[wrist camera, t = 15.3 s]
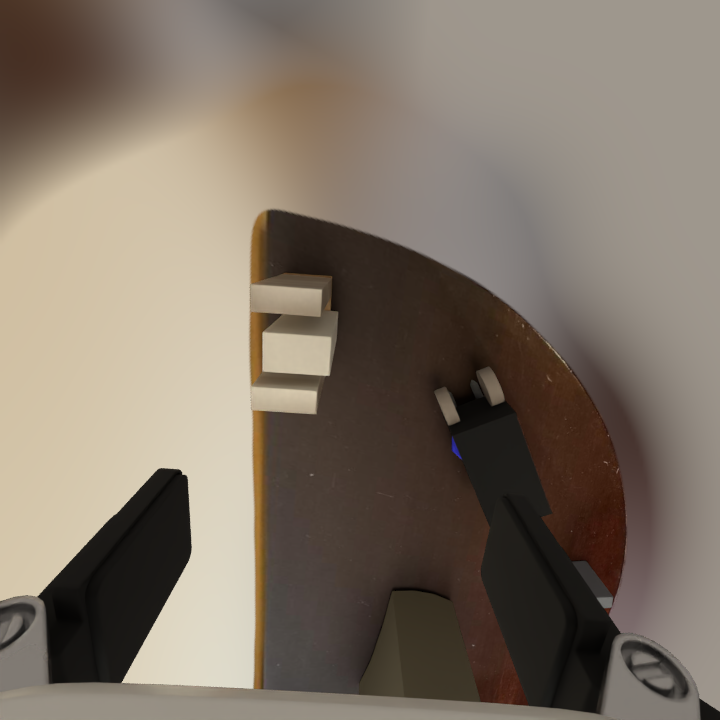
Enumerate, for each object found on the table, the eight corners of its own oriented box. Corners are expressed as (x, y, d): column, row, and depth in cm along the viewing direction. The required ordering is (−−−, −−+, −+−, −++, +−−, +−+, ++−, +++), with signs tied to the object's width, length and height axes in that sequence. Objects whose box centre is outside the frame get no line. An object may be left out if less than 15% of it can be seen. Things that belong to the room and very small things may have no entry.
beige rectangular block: (290, 307, 35) (262, 331, 24) (338, 311, 35) (331, 336, 24) (289, 336, 36) (262, 371, 25) (336, 339, 36) (329, 376, 25)
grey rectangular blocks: (548, 562, 45) (572, 599, 40) (586, 560, 45) (613, 597, 40) (542, 611, 47) (563, 652, 43) (578, 610, 47) (603, 650, 43)
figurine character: (420, 381, 40) (472, 497, 42) (431, 402, 32) (493, 541, 34) (478, 356, 39) (528, 475, 41) (503, 371, 32) (562, 515, 34)
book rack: (284, 272, 35) (250, 282, 23) (332, 276, 35) (322, 287, 23) (282, 362, 37) (250, 411, 26) (327, 365, 38) (316, 415, 26)
